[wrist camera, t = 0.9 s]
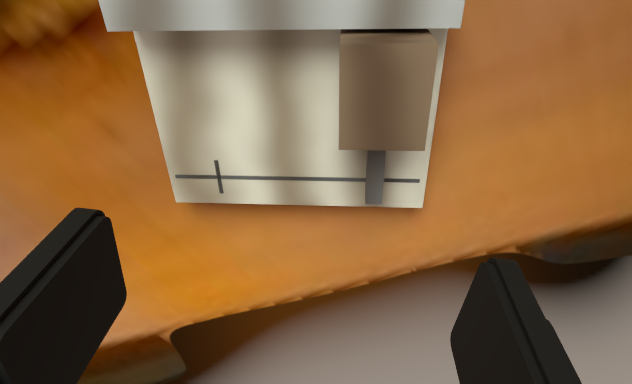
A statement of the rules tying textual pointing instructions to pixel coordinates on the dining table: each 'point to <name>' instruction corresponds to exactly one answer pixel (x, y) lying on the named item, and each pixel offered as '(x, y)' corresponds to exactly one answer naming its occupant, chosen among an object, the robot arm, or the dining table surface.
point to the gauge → (384, 95)
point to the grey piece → (269, 96)
